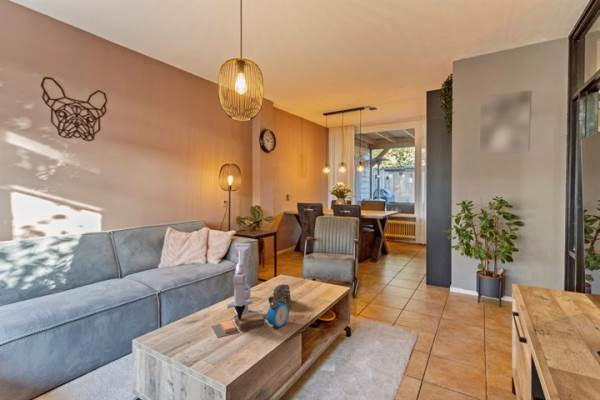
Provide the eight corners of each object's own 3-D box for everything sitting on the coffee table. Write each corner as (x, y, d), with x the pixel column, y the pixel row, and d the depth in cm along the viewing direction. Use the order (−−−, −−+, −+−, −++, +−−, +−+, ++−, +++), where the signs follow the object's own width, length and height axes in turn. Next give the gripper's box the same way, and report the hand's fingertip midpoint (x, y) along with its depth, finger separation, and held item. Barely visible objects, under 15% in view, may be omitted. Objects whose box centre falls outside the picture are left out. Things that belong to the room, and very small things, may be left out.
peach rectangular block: (230, 320, 169) (230, 323, 169) (220, 322, 166) (220, 326, 167) (235, 327, 162) (235, 330, 162) (224, 329, 159) (224, 333, 159)
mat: (211, 326, 167) (211, 326, 167) (232, 321, 172) (232, 321, 172) (217, 337, 154) (217, 337, 154) (239, 332, 160) (239, 331, 160)
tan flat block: (234, 322, 172) (234, 315, 172) (256, 317, 179) (256, 310, 179) (240, 331, 162) (241, 324, 161) (264, 325, 169) (264, 318, 168)
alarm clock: (274, 331, 162) (274, 304, 161) (266, 328, 166) (266, 302, 165) (289, 322, 172) (289, 297, 171) (281, 319, 176) (281, 295, 175)
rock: (295, 281, 196) (273, 277, 194) (293, 302, 186) (269, 298, 185) (290, 291, 210) (269, 288, 208) (288, 311, 200) (266, 308, 199)
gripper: (229, 299, 159) (229, 323, 160) (254, 295, 167) (254, 318, 167) (225, 295, 166) (225, 318, 166) (249, 291, 173) (249, 313, 173)
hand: (239, 318), depth 167 cm, fingers closed
